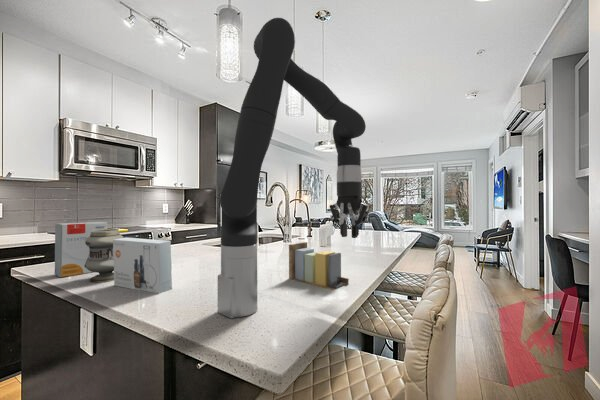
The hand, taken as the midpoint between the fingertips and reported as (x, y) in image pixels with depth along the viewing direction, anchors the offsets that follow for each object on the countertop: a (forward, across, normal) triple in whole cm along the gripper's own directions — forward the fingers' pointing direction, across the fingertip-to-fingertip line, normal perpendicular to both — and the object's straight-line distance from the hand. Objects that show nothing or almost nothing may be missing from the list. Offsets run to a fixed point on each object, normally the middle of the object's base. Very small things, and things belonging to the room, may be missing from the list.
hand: (349, 237), depth 87 cm
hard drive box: (+17, +94, +50) cm, 107 cm away
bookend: (+16, +6, 0) cm, 17 cm away
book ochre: (+16, +9, 0) cm, 18 cm away
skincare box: (+17, +54, +41) cm, 70 cm away
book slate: (+16, +18, 0) cm, 24 cm away
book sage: (+16, +14, 0) cm, 21 cm away
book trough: (+17, +12, 0) cm, 21 cm away
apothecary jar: (+17, +76, +46) cm, 90 cm away
